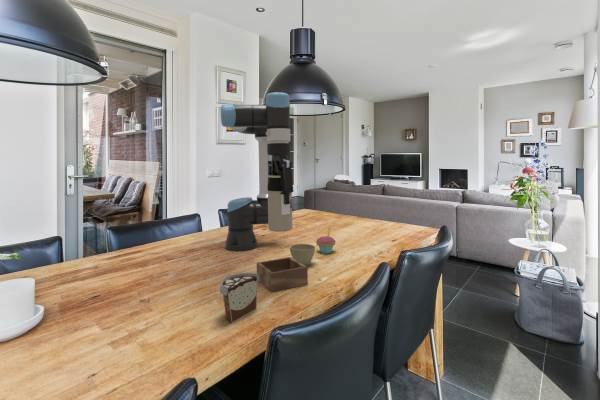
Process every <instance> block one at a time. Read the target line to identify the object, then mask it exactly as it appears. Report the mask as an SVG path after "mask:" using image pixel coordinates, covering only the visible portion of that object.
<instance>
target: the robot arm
mask: <svg viewBox="0 0 600 400" xmlns="http://www.w3.org/2000/svg"><path fill="white" fill-rule="evenodd" d="M290 108H291V101H290V95H289V94H288V93H286V92H269V93H267V94H266V96H265V104H234V103H233V104H232V103H227V104H221V106H220V122H221V126H222V127H223V128H230V129H231V131H234V132H237V133H239V134H240V133H241V134H246V135H254V139H255V140H256V141H257V143H258V146H257V147H258V175H259V177H258V178H259V180H258V181H259V193H258V194H257V195H256V199H254V200H253V198H252V197H250V196H247V197H239V198H235V199H232V200H230V201H228V203H227V210H226V212H227V225H228V228H227V229H228V233H227V236H226V239H225V243H224V245H225V246H224V248H225V249H226V250H229V251H233V252H234V251H235V252H236V251H238V252H239V251H241V252H243V251H250V250H253V249H256V248H257V247H258V241H257V236H256V234H255V232H254V225H255V226H256V225H268V189H267V186H268V184H269V177H268V176H269V175H279V176H281V177H280V183H281V188H282V192H281V193H280V194H281V215H286V214H290V194H291V192H292V193H294V183H293V181H294V180H293V173H292V164H293V163H292V160H288V159H287V156H289V155H291V144H290V143H289V142H291V125H290V123H291V119H290V118H291V116H290V115H291V112H290V111H291V109H290Z"/></svg>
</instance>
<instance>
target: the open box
mask: <svg viewBox="0 0 600 400" xmlns="http://www.w3.org/2000/svg"><path fill="white" fill-rule="evenodd" d="M308 270H309V269H308V265H307V266H305V265H303V264H301V263H300V262H298V261H296V260H295V259H293V258H292V256H289V257H283V258H282V257H281V258H276V259H275V258H274V259H271V260H264V261H258V262H256V274H258V276H259V281H258V282H260V283H261V284H262V285H263V286H264V287H265V288H266V289H267V290H268V291H270V292H271V293H274V292H279V291H284V290H287V289H292V288H298V287H302V286H308V283H309V281H308V280H309V279H308V276H309V274H308Z"/></svg>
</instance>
